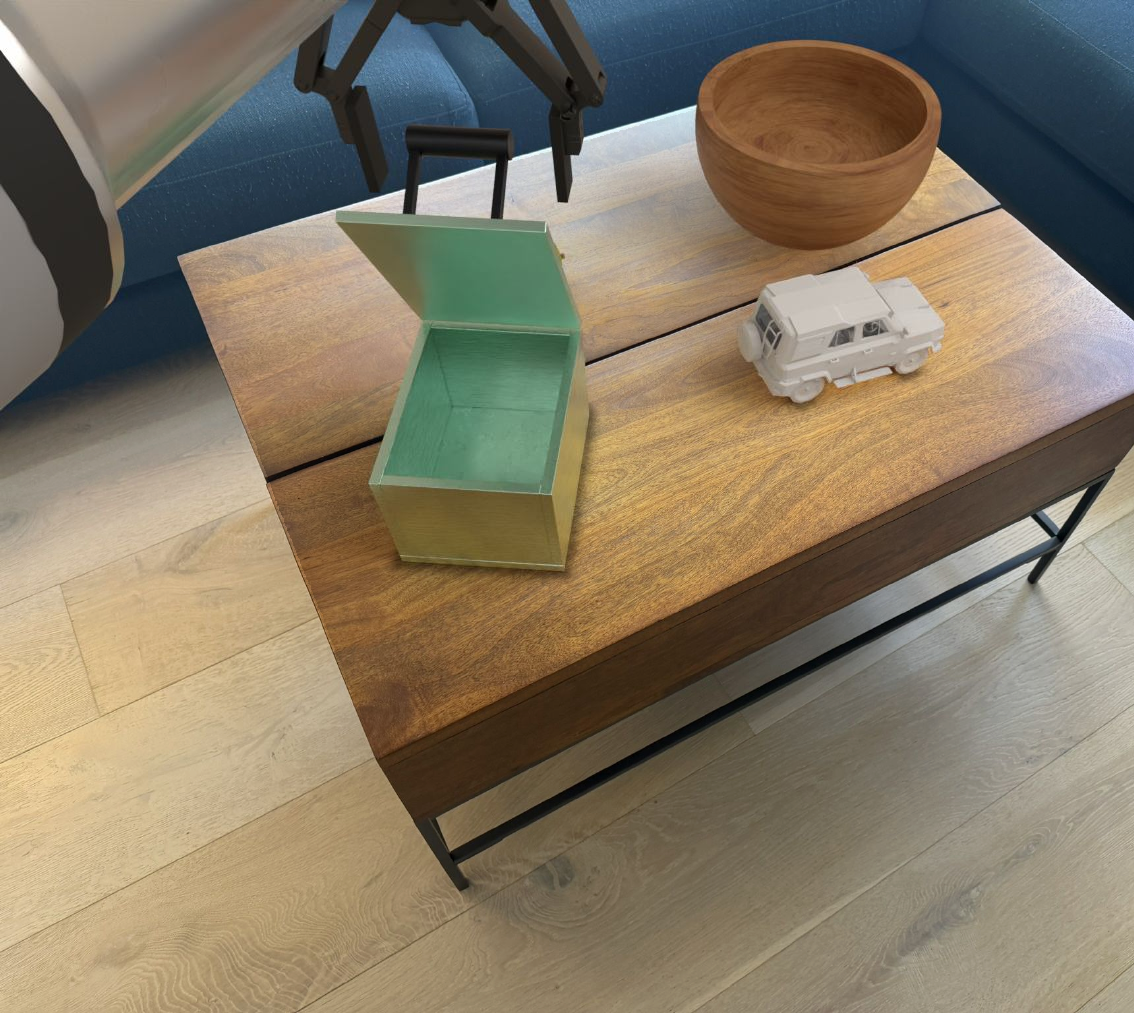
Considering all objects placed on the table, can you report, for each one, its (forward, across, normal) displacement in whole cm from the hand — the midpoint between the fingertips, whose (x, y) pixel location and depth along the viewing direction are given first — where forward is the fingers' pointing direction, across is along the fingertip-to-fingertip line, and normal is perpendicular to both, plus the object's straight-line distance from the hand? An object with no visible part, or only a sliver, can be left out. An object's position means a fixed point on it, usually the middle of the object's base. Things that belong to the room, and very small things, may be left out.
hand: (472, 186), depth 65 cm
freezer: (+25, 0, +8) cm, 26 cm away
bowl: (+25, -28, -31) cm, 49 cm away
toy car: (+25, -31, -10) cm, 41 cm away
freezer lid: (+6, 0, +4) cm, 7 cm away
